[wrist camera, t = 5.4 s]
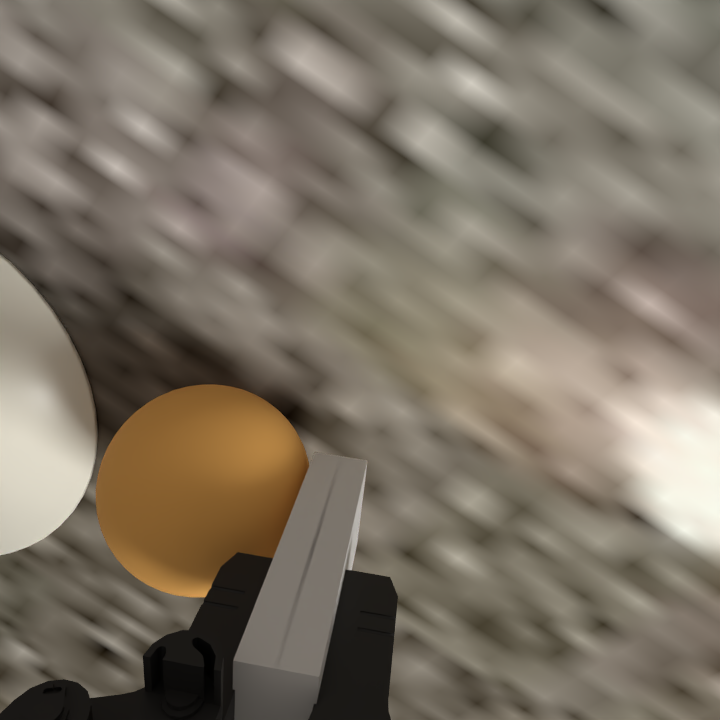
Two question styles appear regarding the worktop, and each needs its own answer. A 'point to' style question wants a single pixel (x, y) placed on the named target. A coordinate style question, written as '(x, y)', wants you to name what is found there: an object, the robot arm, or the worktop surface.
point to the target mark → (40, 416)
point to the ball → (198, 485)
